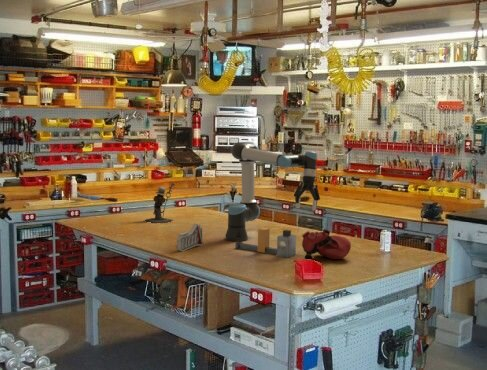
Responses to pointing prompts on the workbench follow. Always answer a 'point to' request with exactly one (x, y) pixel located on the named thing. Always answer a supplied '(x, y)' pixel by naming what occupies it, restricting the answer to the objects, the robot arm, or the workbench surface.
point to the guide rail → (254, 248)
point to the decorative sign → (190, 238)
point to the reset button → (286, 232)
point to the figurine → (159, 202)
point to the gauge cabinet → (286, 246)
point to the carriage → (263, 239)
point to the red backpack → (325, 245)
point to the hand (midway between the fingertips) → (305, 209)
